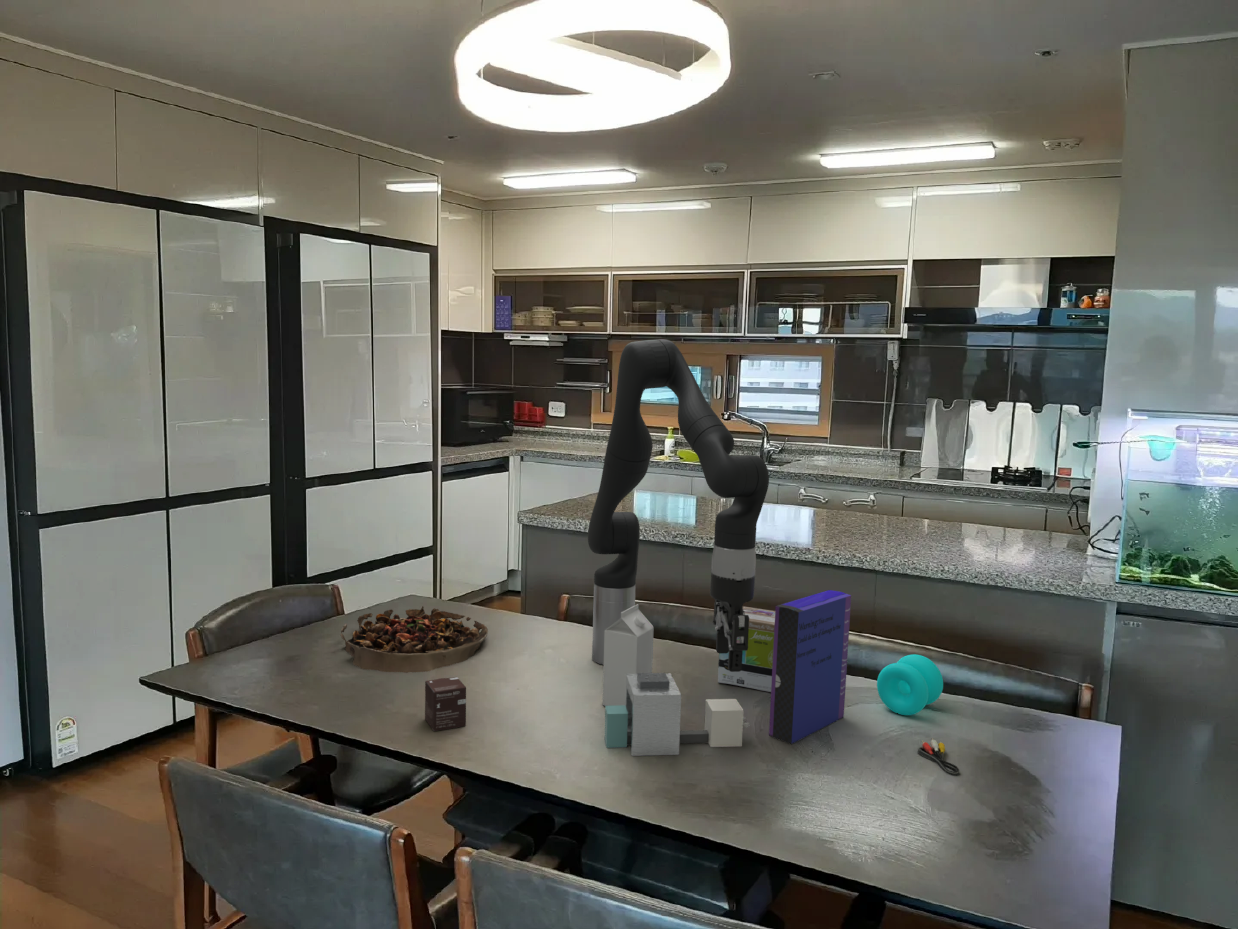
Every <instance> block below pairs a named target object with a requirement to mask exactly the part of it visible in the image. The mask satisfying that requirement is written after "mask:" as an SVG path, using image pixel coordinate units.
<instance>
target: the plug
mask: <svg viewBox="0 0 1238 929" xmlns="http://www.w3.org/2000/svg"><path fill="white" fill-rule="evenodd" d="M604 707H605V710H604V742H605V747H606V748H607V749H610V748H612V749H613V748H627V747H628V745H630V746H631V736H632V732H627V726H628V712H627V709H626V706H625V705H617V706H604ZM704 710H705V711H704V729H695V730H693V729H691V730H686V729H685V730H680V739H679V744H706V743H708V745H709V747H710V748H721V747H722V748H725V747H727V748H729V747H730V748H731V747H733V748H734V747H743V731H744V730H743V729H744V728H750V727H751V726H750V722H747V717H746V716H744V709H743V707H742V706H741V704H740V703H739V702H738V699H737V698H711V699H709V698H707V699H705V709H704Z"/></svg>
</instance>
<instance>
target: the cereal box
mask: <svg viewBox="0 0 1238 929" xmlns="http://www.w3.org/2000/svg"><path fill="white" fill-rule="evenodd" d="M851 605H852V595H851V594H848V593H846V592H843V591H839V590H831V589H828V590H824V591H820V592H818V593H814V594H811V595H808V596H804V597H801V598H797V599H795V600H791V601H788V602H784V603H781V604H777V605H775V610H774V611H775V627H774V647H773V666H772V685H771V692H770V709H769V726H768V736H769V737H771V738H774V739H777V740H779V741H781V742H783V743H785V744H786V743H787V744H788V745H791V746H792V745H793V744H795V743H798V742H799V741H801V740H803V739H806V738H807V737H809V736H811V735H812V734H815V733H817V732H820V731H821V730H823V729H825V728H826V727H828V726H830V725H832V724H834V723H836V722H838V721H840V720H842V719H844V718H845V715H844V714H845V704H846V702H845V701H846V688H847V687H846V685H847V683H846V682H847V671H848V668H847V667H848V654H849V652H848V651H849V639H850V638H849V636H850V621H851Z"/></svg>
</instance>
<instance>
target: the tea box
mask: <svg viewBox="0 0 1238 929" xmlns="http://www.w3.org/2000/svg"><path fill="white" fill-rule="evenodd" d="M743 611H745V615H748V616H749V633H748V650H747V651H743V654H742V670H741V671H740V672H730V671H729V669H728V657H729V652H728V653H718V664H717V665H718V666H717V683H719V684H728V685H733V686H739V687H744V688H748V689H753V690H758V691H763V692H769V693H771V685H772V666H773V647H774V627H775V610H770V609H762V608H759V607H758V608H757V607H749V606H744V605H743ZM737 643H740V641H739V638H738V637H737Z"/></svg>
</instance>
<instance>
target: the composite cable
mask: <svg viewBox="0 0 1238 929" xmlns="http://www.w3.org/2000/svg"><path fill="white" fill-rule="evenodd" d="M921 743H922V744H921V746H922V747H921V746H920V747H918V748H917V754H919V755H920V756H921V757H923V758H925V759H928V760H930V761H931V762H932V763H933V762H934V763H935V764H936V765H937V766H938V767H939V768H940V769H941V770H942V771H944V772H945V773H946V774H948V775H950V776H954V777H956V776H960V774H961V773H960V769H959V767H958V766H957V765H956V764H953V763H951V762H950V761H949V762H948V761H946V760H944V756H945V755H944V754H945V752H946V746H945V744H944V743H943V742H942V741H939V743H938V741H937V740H935V739H934V738H933V737H932V738H931V740H930V744H929V743H928V742H927V741H925V740H923V739H922V740H921Z"/></svg>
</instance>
